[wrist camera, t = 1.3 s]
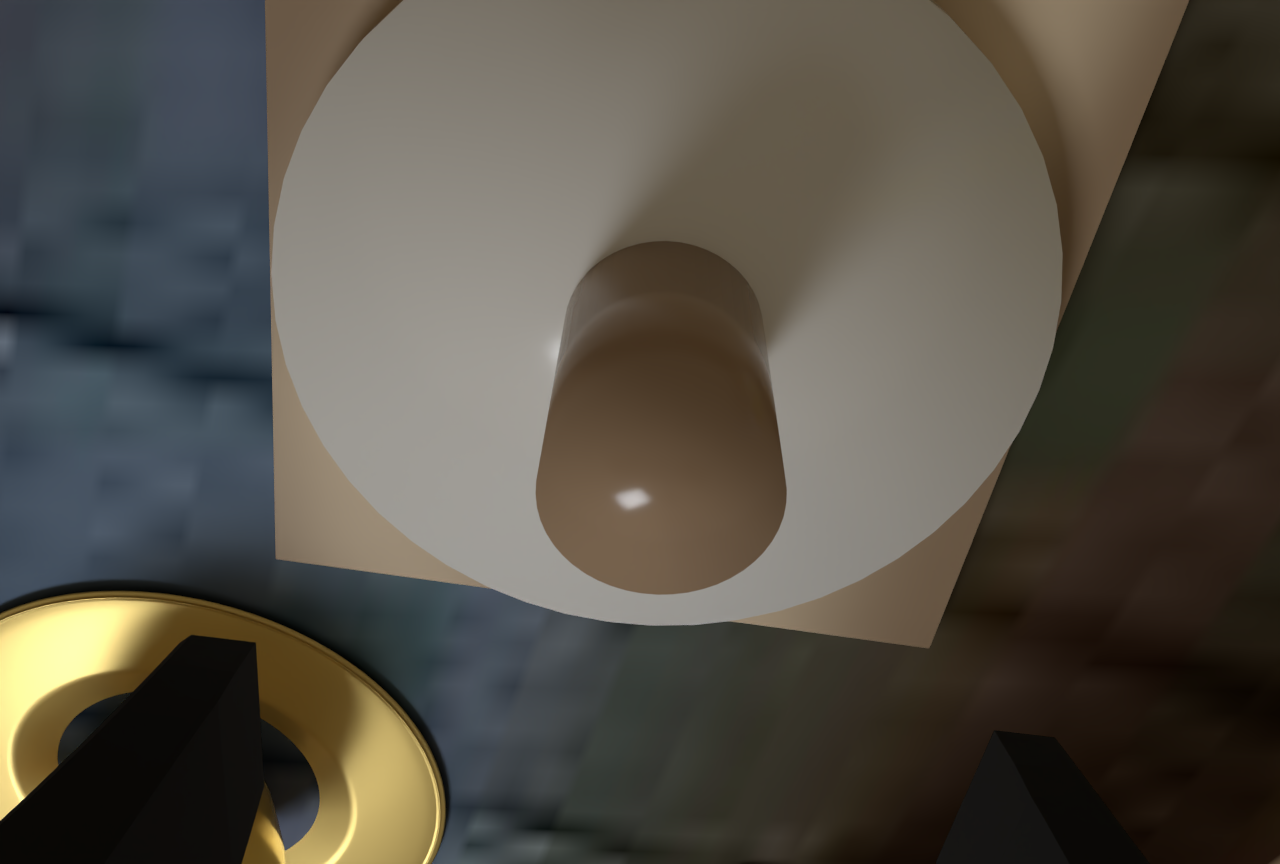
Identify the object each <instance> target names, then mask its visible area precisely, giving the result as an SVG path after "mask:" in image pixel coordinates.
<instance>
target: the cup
mask: <svg viewBox="0 0 1280 864" xmlns="http://www.w3.org/2000/svg"><path fill="white" fill-rule="evenodd" d="M190 635H198V636H206V637H215V638H223V639H231V640H240V641H248V642H256V652H257V669H258V687H259V704H260V718H261V719H263V720H265V721H266V722H268V723H269V724H271V725H272V726H274V727H275V728H276V729H278V730H279V731H280V732H281V733H283V734H284V735H285V736H286V737H287V738H288V739H290V740H291V741H292V742H293V743H294V744H295V746H296V747H297V748H298V749H299V750H300V751H301V752H302V754H303V755H304V756H305V758H306V759H307V761H308V762H309V764H310V766H311V768H312V770H313V772H314V774H315V776H316V779H317V782H318V786H319V793H320V805H319V811H318V814H317V817H316V820H315V822H314V824H313V826H312V827H311V829H310V830H309V832H308V833H307V834H306V835H305V836H304V837H303V838H302V839H301V840H300V841H299V842H298V843H297V844H295V845H294V846H292V847H291V848H289V849H288V850H286V851H285V849H284V844H283V839H282V835H281V831H280V826H279V822H278V818H277V814H276V810H275V806H274V802H273V799H272V795H271V793H270V790H269V788H268V786H267V784H266V782H265V781H264V789H263V792H262V796H261V799H260V803H259V806H258V810H257V813H256V817H255V820H254V824H253V827H252V831H251V834H250V837H249V841H248V844H247V848H246V851H245V854H244V857H243V861H242V864H432V862H433V860H434V858H435V856H436V854H437V852H438V850H439V847H440V844H441V841H442V837H443V833H444V828H445V821H446V799H445V791H444V786H443V782H442V778H441V774H440V771H439V768H438V765H437V763H436V760H435V758H434V756H433V754H432V752H431V750H430V748H429V746H428V744H427V742H426V740H425V739H424V737H423V736H422V734H421V732H420V731H419V729H418V728H417V727H416V725H415V724H414V722H413V721H412V720H411V718H410V717H409V716H408V715H407V713H406V712H405V711H404V710H403V709H402V708H401V706H400V705H399V704H398V703H397V702H396V701H395V700H394V699H393V698H392V697H391V696H390V695H389V694H388V693H387V692H386V691H385V690H384V689H383V688H382V687H381V686H379V685H378V684H377V683H376V682H375V681H374V680H372V679H371V678H370V677H369V676H368V675H366V674H365V673H364V672H363V671H361V670H360V669H359V668H357V667H356V666H354V665H353V664H352V663H350V662H349V661H347V660H346V659H344V658H343V657H341V656H340V655H338V654H337V653H335V652H333V651H332V650H330V649H329V648H327V647H325V646H323V645H322V644H320V643H318V642H316V641H314V640H313V639H311V638H309V637H307V636H305V635H303V634H301V633H299V632H297V631H294V630H292V629H290V628H288V627H286V626H283V625H281V624H279V623H276V622H274V621H271V620H269V619H266V618H263V617H261V616H258V615H255V614H252V613H249V612H246V611H243V610H240V609H237V608H233V607H230V606H226V605H222V604H218V603H214V602H210V601H206V600H201V599H196V598H191V597H185V596H179V595H172V594H165V593H155V592H143V591H93V592H81V593H73V594H66V595H60V596H54V597H49V598H45V599H40V600H37V601H33V602H29V603H26V604H23V605H20V606H17V607H14V608H11V609H9V610H6V611H4V612H2V613H0V820H2V819H3V818H4V817H5V816H6V815H7V814H8V813H9V812H10V811H11V810H12V809H14V808H15V807H16V806H17V805H18V804H19V803H20V802H21V801H22V800H23V799H24V798H25V797H26V796H27V795H28V794H29V793H30V792H32V791H33V790H34V789H35V788H36V787H37V786H38V785H39V784H40V783H41V782H42V781H43V780H44V779H45V778H46V777H47V776H48V775H49V774H50V773H52V772H53V771H54V770H55V769H56V768H57V767H58V760H57V754H58V746H59V742H60V739H61V736H62V734H63V732H64V730H65V729H66V727H67V726H68V724H69V723H70V722H71V721H72V720H73V719H74V718H75V717H76V716H77V715H78V714H79V713H80V712H82V711H83V710H84V709H86V708H87V707H89V706H91V705H93V704H95V703H97V702H99V701H101V700H103V699H106V698H109V697H112V696H116V695H119V694H124V693H129V692H133V691H134V690H135V689H136V688H137V687H138V686H139V685H140V684H141V683H142V682H143V681H144V680H145V679H146V678H147V677H148V676H149V675H150V674H151V673H152V672H153V670H154V669H155V668H156V667H157V666H158V665H159V664H160V663H161V662H162V661H163V660H164V659H165V658H166V657H167V656H168V655H169V654H170V652H171V651H172V650H173V649H174V648H175V647H176V646H177V645H178V644H179V643H180V642H181V641H183V640H184V639H186V638H187V637H189V636H190Z"/></svg>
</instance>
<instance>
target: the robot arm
mask: <svg viewBox="0 0 1280 864" xmlns="http://www.w3.org/2000/svg"><path fill="white" fill-rule="evenodd" d="M263 789H264V774H263V757H262V739H261V722H260V704H259V687H258V669H257V652H256V642H248V641H240V640H231V639H223V638H215V637H206V636H198V635H190V636H189V637H187V638H186V639H184V640H183V641H181V642H180V643H179V644H178V645H177V646H176V647H175V648H174V649H173V650H172V651H171V652H170V654H169V655H168V656H167V657H166V658H165V659H164V660H163V661H162V662H161V663H160V664H159V665H158V666H157V667H156V668H155V669H154V670H153V672H152V673H151V674H150V675H149V676H148V677H147V678H146V679H145V680H144V681H143V682H142V683H141V684H140V685H139V686H138V687H137V688H136V689H135V690H134V691H133V692H132V693H131V694H130V696H129V697H128V698H127V699H126V700H125V701H124V702H123V703H122V704H121V705H120V706H119V707H118V708H117V709H116V710H115V711H114V712H113V713H112V714H111V715H110V716H109V717H108V718H107V719H106V720H105V721H104V722H103V723H102V724H101V725H100V726H99V727H98V728H97V729H96V730H95V731H94V732H93V733H92V734H91V735H90V736H89V737H88V738H87V739H86V740H85V741H84V742H83V743H82V744H81V745H80V746H79V747H78V748H77V749H76V750H75V751H74V752H73V753H72V754H70V755H69V756H68V757H67V758H66V759H65V760H64V761H63V762H62V763H61V764H60V765H59V766H58V767H57V768H56V769H55V770H54V771H53V772H52V773H50V774H49V775H48V776H47V777H46V778H45V779H44V780H43V781H42V782H41V783H40V784H39V785H38V786H37V787H36V788H35V789H34V790H33V791H32V792H30V793H29V794H28V795H27V796H26V797H25V798H24V799H23V800H22V801H21V802H20V803H19V804H18V805H17V806H16V807H15V808H14V809H12V810H11V811H10V812H9V813H8V814H7V815H6V816H5V817H4V818H3V819H2V820H0V864H242V861H243V857H244V854H245V851H246V848H247V844H248V841H249V837H250V834H251V831H252V827H253V824H254V820H255V817H256V813H257V810H258V806H259V803H260V799H261V796H262V792H263ZM936 864H1150V863H1149V862H1148V861H1147V859H1146V858H1145V857H1144V855H1143V854H1142V853H1141V851H1140V850H1139V849H1138V847H1137V846H1136V845H1135V844H1134V842H1133V841H1132V840H1131V838H1130V837H1129V836H1128V834H1127V833H1126V832H1125V830H1124V829H1123V828H1122V826H1121V825H1120V824H1119V822H1118V821H1117V820H1116V818H1115V817H1114V816H1113V814H1112V813H1111V812H1110V810H1109V809H1108V808H1107V806H1106V805H1105V804H1104V802H1103V801H1102V800H1101V798H1100V797H1099V796H1098V794H1097V793H1096V792H1095V790H1094V789H1093V788H1092V786H1091V785H1090V783H1089V782H1088V781H1087V779H1086V778H1085V777H1084V775H1083V774H1082V773H1081V771H1080V770H1079V769H1078V767H1077V766H1076V765H1075V763H1074V762H1073V761H1072V760H1071V758H1070V757H1069V756H1068V754H1067V753H1066V752H1065V750H1064V749H1063V748H1062V746H1061V745H1060V744H1059V743H1058V741H1057V740H1056V739H1055V738H1054V737H1046V736H1037V735H1029V734H1020V733H1012V732H1004V731H995V730H994V732H993V734H992V737H991V739H990V741H989V743H988V746H987V748H986V750H985V752H984V755H983V757H982V759H981V762H980V764H979V766H978V768H977V771H976V773H975V775H974V777H973V780H972V782H971V784H970V786H969V789H968V791H967V793H966V795H965V798H964V800H963V802H962V804H961V807H960V809H959V811H958V813H957V816H956V818H955V820H954V822H953V825H952V827H951V829H950V832H949V834H948V836H947V838H946V841H945V843H944V845H943V847H942V850H941V852H940V854H939V856H938V859H937V861H936Z"/></svg>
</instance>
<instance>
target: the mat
mask: <svg viewBox="0 0 1280 864" xmlns="http://www.w3.org/2000/svg"><path fill="white" fill-rule="evenodd" d="M401 1H402V0H265V23H266V76H267V128H268V180H269V232H270V285H271V337H272V390H273V442H274V494H275V547H276V559H279V560H286V561H294V562H301V563H308V564H316V565H323V566H330V567H338V568H345V569H352V570H360V571H367V572H374V573H382V574H389V575H396V576H403V577H411V578H418V579H425V580H433V581H440V582H447V583H455V584H462V585H469V586H477V587H484V588H490V587H487V586H485V585H483V584H481V583H479V582H477V581H475V580H474V579H472V578H470V577H468V576H466V575H464V574H462V573H460V572H459V571H457V570H455V569H453V568H451V567H449V566H447V565H446V564H444V563H443V562H441V561H440V560H438V559H437V558H436V557H434V556H433V555H431V554H430V553H428V552H427V551H425V550H424V549H422V548H421V547H419V546H418V545H416V544H415V543H413V542H412V541H411V540H410V539H408V538H407V537H406V536H405V535H404V534H403V533H401V532H400V531H399V530H398V529H397V528H396V527H394V526H393V525H392V524H391V523H390V522H389V521H387V520H386V519H385V518H384V517H383V516H382V515H380V514H379V513H378V512H377V511H376V510H375V509H374V507H373V506H372V505H371V504H370V503H369V502H368V501H367V500H366V499H365V498H364V497H363V496H362V494H361V493H360V492H359V491H358V490H357V489H356V488H355V487H354V486H353V485H352V484H351V483H350V481H349V480H348V479H347V478H346V476H345V475H344V473H343V472H342V471H341V469H340V468H339V466H338V465H337V464H336V462H335V461H334V460H333V458H332V457H331V455H330V454H329V453H328V451H327V450H326V448H325V447H324V446H323V444H322V442H321V440H320V438H319V437H318V435H317V433H316V431H315V429H314V427H313V426H312V424H311V422H310V420H309V418H308V416H307V415H306V413H305V411H304V409H303V407H302V405H301V402H300V400H299V397H298V395H297V392H296V390H295V387H294V384H293V382H292V379H291V377H290V374H289V371H288V369H287V366H286V363H285V359H284V354H283V350H282V346H281V342H280V338H279V333H278V329H277V325H276V321H275V310H274V299H273V288H272V277H271V269H272V251H273V233H274V223H275V218H276V214H277V209H278V204H279V199H280V194H281V189H282V185H283V180H284V177H285V174H286V171H287V168H288V166H289V163H290V160H291V158H292V155H293V152H294V150H295V147H296V144H297V141H298V139H299V136H300V133H301V131H302V129H303V127H304V125H305V124H306V122H307V120H308V118H309V116H310V115H311V113H312V111H313V109H314V107H315V106H316V104H317V102H318V100H319V98H320V97H321V95H322V93H323V91H324V89H325V87H326V86H327V84H328V83H329V82H330V80H331V79H332V78H333V77H334V75H335V74H336V73H337V71H338V70H339V69H340V67H341V66H342V65H343V64H344V62H345V61H346V60H347V58H348V57H349V56H350V55H351V53H352V52H353V51H354V49H355V48H356V47H357V45H358V44H359V43H360V42H361V41H362V40H363V38H364V37H365V36H366V35H367V34H368V33H369V32H370V31H371V30H372V29H373V28H374V27H375V26H376V25H377V24H378V23H379V22H380V21H381V20H382V19H383V18H384V17H385V16H386V15H387V14H388V13H389V12H390V11H391V10H392V9H394V8H395V7H396V6H397V5H398V4H399V3H400V2H401ZM933 1H934V2H935V3H936V4H938V5H939V6H940V7H941V8H942V9H944V11H945V12H946V13H947V14H948V15H949V16H950V17H951V18H952V19H953V21H954V22H955V23H956V24H957V25H958V26H959V27H960V28H961V29H962V31H963V32H964V33H965V34H966V35H967V36H968V37H969V38H970V39H971V41H972V42H973V43H974V44H975V45H976V46H977V47H978V48H979V49H980V51H981V52H982V53H983V54H984V55H985V56H986V57H987V59H988V60H989V61H990V62H991V63H992V65H993V66H994V68H995V69H996V71H997V72H998V74H999V75H1000V77H1001V78H1002V80H1003V81H1004V83H1005V84H1006V86H1007V87H1008V89H1009V90H1010V92H1011V93H1012V95H1013V97H1014V98H1015V100H1016V101H1017V103H1018V104H1019V106H1020V107H1021V109H1022V111H1023V113H1024V115H1025V118H1026V120H1027V122H1028V124H1029V126H1030V128H1031V131H1032V133H1033V135H1034V137H1035V139H1036V142H1037V144H1038V146H1039V148H1040V150H1041V153H1042V155H1043V158H1044V161H1045V165H1046V168H1047V172H1048V175H1049V179H1050V183H1051V186H1052V190H1053V193H1054V197H1055V200H1056V204H1057V211H1058V219H1059V227H1060V236H1061V244H1062V252H1063V259H1062V294H1061V306H1060V311H1059V317H1058V323H1057V328H1056V331H1057V329H1058V326H1059V324H1060V321H1061V319H1062V316H1063V314H1064V311H1065V309H1066V306H1067V304H1068V301H1069V299H1070V296H1071V294H1072V291H1073V289H1074V286H1075V284H1076V281H1077V279H1078V276H1079V274H1080V271H1081V269H1082V266H1083V264H1084V261H1085V259H1086V256H1087V254H1088V251H1089V249H1090V246H1091V244H1092V241H1093V239H1094V236H1095V234H1096V231H1097V229H1098V226H1099V224H1100V221H1101V219H1102V216H1103V214H1104V211H1105V209H1106V206H1107V204H1108V201H1109V199H1110V196H1111V194H1112V191H1113V189H1114V186H1115V184H1116V181H1117V179H1118V177H1119V174H1120V172H1121V169H1122V167H1123V164H1124V162H1125V159H1126V157H1127V154H1128V152H1129V149H1130V147H1131V144H1132V142H1133V139H1134V137H1135V134H1136V132H1137V129H1138V127H1139V124H1140V122H1141V119H1142V117H1143V114H1144V112H1145V109H1146V107H1147V104H1148V102H1149V99H1150V97H1151V94H1152V92H1153V89H1154V87H1155V84H1156V82H1157V79H1158V77H1159V74H1160V72H1161V69H1162V67H1163V64H1164V62H1165V59H1166V57H1167V54H1168V52H1169V49H1170V47H1171V44H1172V42H1173V39H1174V37H1175V34H1176V32H1177V29H1178V27H1179V24H1180V22H1181V19H1182V17H1183V14H1184V12H1185V9H1186V7H1187V4H1188V2H1189V0H933ZM1010 446H1011V445H1010ZM1010 446H1009V448H1010ZM1009 448H1008V449H1007V451H1006V452H1005V454H1004V456H1003V457H1002V459H1001V460H1000V462H999V463H998V465H997V466H996V468H995V469H994V470H993V472H992V473H991V474H990V475H989V476H988V477H987V479H986V480H985V481H984V482H983V483H982V484H981V486H980V487H979V488H978V489H977V490H976V491H975V493H974V494H973V495H972V496H971V497H970V498H969V500H968V501H967V502H966V503H965V504H964V505H963V506H962V507H961V508H960V509H959V510H958V511H956V512H955V513H954V514H953V515H952V516H951V517H950V518H949V519H948V520H947V521H946V522H945V523H943V524H942V525H941V526H940V527H939V528H938V529H937V530H936V531H935V532H934V533H932V534H931V535H930V536H928V537H927V538H926V539H924V540H923V541H921V542H920V543H919V544H917V545H916V546H915V547H913V548H912V549H910V550H909V551H908V552H906V553H905V554H904V555H902V556H901V557H900V558H898V559H896V560H895V561H893V562H891V563H890V564H888V565H886V566H884V567H883V568H881V569H879V570H877V571H876V572H874V573H872V574H870V575H869V576H867V577H865V578H863V579H862V580H860V581H858V582H855V583H853V584H851V585H848V586H846V587H844V588H842V589H839V590H837V591H835V592H833V593H830V594H828V595H826V596H823V597H821V598H818V599H815V600H812V601H809V602H806V603H803V604H800V605H797V606H793V607H790V608H787V609H784V610H781V611H777V612H773V613H768V614H763V615H759V616H754V617H749V618H745V619H740V620H734V621H733V622H740V623H747V624H754V625H762V626H769V627H776V628H784V629H791V630H798V631H806V632H813V633H820V634H828V635H835V636H842V637H850V638H857V639H864V640H872V641H879V642H886V643H893V644H901V645H908V646H915V647H923V648H930V645H931V643H932V640H933V638H934V635H935V633H936V630H937V628H938V625H939V623H940V620H941V618H942V615H943V613H944V610H945V608H946V605H947V603H948V600H949V598H950V595H951V593H952V590H953V588H954V585H955V583H956V580H957V578H958V575H959V573H960V570H961V568H962V565H963V563H964V560H965V558H966V556H967V553H968V551H969V548H970V546H971V543H972V541H973V538H974V536H975V533H976V531H977V528H978V526H979V523H980V521H981V518H982V516H983V513H984V511H985V508H986V506H987V503H988V501H989V498H990V496H991V493H992V491H993V488H994V486H995V483H996V481H997V478H998V476H999V473H1000V471H1001V468H1002V466H1003V463H1004V461H1005V458H1006V456H1007V453H1008V451H1009ZM491 589H492V588H491Z"/></svg>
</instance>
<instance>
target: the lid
mask: <svg viewBox="0 0 1280 864" xmlns="http://www.w3.org/2000/svg"><path fill="white" fill-rule="evenodd" d="M1062 259H1063V252H1062V244H1061V236H1060V227H1059V219H1058V211H1057V204H1056V200H1055V197H1054V193H1053V190H1052V186H1051V183H1050V179H1049V175H1048V172H1047V168H1046V165H1045V161H1044V158H1043V155H1042V153H1041V150H1040V148H1039V146H1038V144H1037V142H1036V139H1035V137H1034V135H1033V133H1032V131H1031V128H1030V126H1029V124H1028V122H1027V120H1026V118H1025V115H1024V113H1023V111H1022V109H1021V107H1020V106H1019V104H1018V103H1017V101H1016V100H1015V98H1014V97H1013V95H1012V93H1011V92H1010V90H1009V89H1008V87H1007V86H1006V84H1005V83H1004V81H1003V80H1002V78H1001V77H1000V75H999V74H998V72H997V71H996V69H995V68H994V66H993V65H992V63H991V62H990V61H989V60H988V59H987V57H986V56H985V55H984V54H983V53H982V52H981V51H980V49H979V48H978V47H977V46H976V45H975V44H974V43H973V42H972V41H971V39H970V38H969V37H968V36H967V35H966V34H965V33H964V32H963V31H962V29H961V28H960V27H959V26H958V25H957V24H956V23H955V22H954V21H953V19H952V18H951V17H950V16H949V15H948V14H947V13H946V12H945V11H944V9H942V8H941V7H940V6H939V5H938V4H936V3H935V2H934V1H933V0H402V1H401V2H400V3H399V4H398V5H397V6H396V7H395V8H394V9H392V10H391V11H390V12H389V13H388V14H387V15H386V16H385V17H384V18H383V19H382V20H381V21H380V22H379V23H378V24H377V25H376V26H375V27H374V28H373V29H372V30H371V31H370V32H369V33H368V34H367V35H366V36H365V37H364V38H363V40H362V41H361V42H360V43H359V44H358V45H357V47H356V48H355V49H354V51H353V52H352V53H351V55H350V56H349V57H348V58H347V60H346V61H345V62H344V64H343V65H342V66H341V67H340V69H339V70H338V71H337V73H336V74H335V75H334V77H333V78H332V79H331V80H330V82H329V83H328V84H327V86H326V87H325V89H324V91H323V93H322V95H321V97H320V98H319V100H318V102H317V104H316V106H315V107H314V109H313V111H312V113H311V115H310V116H309V118H308V120H307V122H306V124H305V125H304V127H303V129H302V131H301V133H300V136H299V139H298V141H297V144H296V147H295V150H294V152H293V155H292V158H291V160H290V163H289V166H288V168H287V171H286V174H285V177H284V180H283V185H282V189H281V194H280V199H279V204H278V209H277V214H276V218H275V223H274V233H273V251H272V269H271V277H272V288H273V299H274V310H275V321H276V325H277V329H278V333H279V338H280V342H281V346H282V350H283V354H284V359H285V363H286V366H287V369H288V371H289V374H290V377H291V379H292V382H293V384H294V387H295V390H296V392H297V395H298V397H299V400H300V402H301V405H302V407H303V409H304V411H305V413H306V415H307V416H308V418H309V420H310V422H311V424H312V426H313V427H314V429H315V431H316V433H317V435H318V437H319V438H320V440H321V442H322V444H323V446H324V447H325V448H326V450H327V451H328V453H329V454H330V455H331V457H332V458H333V460H334V461H335V462H336V464H337V465H338V466H339V468H340V469H341V471H342V472H343V473H344V475H345V476H346V478H347V479H348V480H349V481H350V483H351V484H352V485H353V486H354V487H355V488H356V489H357V490H358V491H359V492H360V493H361V494H362V496H363V497H364V498H365V499H366V500H367V501H368V502H369V503H370V504H371V505H372V506H373V507H374V509H375V510H376V511H377V512H378V513H379V514H380V515H382V516H383V517H384V518H385V519H386V520H387V521H389V522H390V523H391V524H392V525H393V526H394V527H396V528H397V529H398V530H399V531H400V532H401V533H403V534H404V535H405V536H406V537H407V538H408V539H410V540H411V541H412V542H413V543H415V544H416V545H418V546H419V547H421V548H422V549H424V550H425V551H427V552H428V553H430V554H431V555H433V556H434V557H436V558H437V559H438V560H440V561H441V562H443V563H444V564H446V565H447V566H449V567H451V568H453V569H455V570H457V571H459V572H460V573H462V574H464V575H466V576H468V577H470V578H472V579H474V580H475V581H477V582H479V583H481V584H483V585H485V586H487V587H490V588H492V589H495V590H497V591H499V592H502V593H504V594H507V595H509V596H512V597H514V598H517V599H519V600H522V601H524V602H527V603H531V604H534V605H537V606H541V607H544V608H548V609H551V610H555V611H558V612H561V613H565V614H569V615H575V616H580V617H586V618H591V619H596V620H602V621H607V622H617V623H629V624H640V625H698V624H707V623H716V622H725V621H734V620H740V619H745V618H749V617H754V616H759V615H763V614H768V613H773V612H777V611H781V610H784V609H787V608H790V607H793V606H797V605H800V604H803V603H806V602H809V601H812V600H815V599H818V598H821V597H823V596H826V595H828V594H830V593H833V592H835V591H837V590H839V589H842V588H844V587H846V586H848V585H851V584H853V583H855V582H858V581H860V580H862V579H863V578H865V577H867V576H869V575H870V574H872V573H874V572H876V571H877V570H879V569H881V568H883V567H884V566H886V565H888V564H890V563H891V562H893V561H895V560H896V559H898V558H900V557H901V556H902V555H904V554H905V553H906V552H908V551H909V550H910V549H912V548H913V547H915V546H916V545H917V544H919V543H920V542H921V541H923V540H924V539H926V538H927V537H928V536H930V535H931V534H932V533H934V532H935V531H936V530H937V529H938V528H939V527H940V526H941V525H942V524H943V523H945V522H946V521H947V520H948V519H949V518H950V517H951V516H952V515H953V514H954V513H955V512H956V511H958V510H959V509H960V508H961V507H962V506H963V505H964V504H965V503H966V502H967V501H968V500H969V498H970V497H971V496H972V495H973V494H974V493H975V491H976V490H977V489H978V488H979V487H980V486H981V484H982V483H983V482H984V481H985V480H986V479H987V477H988V476H989V475H990V474H991V473H992V472H993V470H994V469H995V468H996V466H997V465H998V463H999V462H1000V460H1001V459H1002V457H1003V456H1004V454H1005V452H1006V451H1007V449H1008V448H1009V446H1010V445H1011V443H1012V442H1013V440H1014V439H1015V437H1016V436H1017V434H1018V433H1019V431H1020V429H1021V427H1022V425H1023V423H1024V421H1025V419H1026V417H1027V415H1028V412H1029V410H1030V408H1031V406H1032V404H1033V402H1034V400H1035V398H1036V396H1037V394H1038V392H1039V389H1040V386H1041V383H1042V380H1043V377H1044V374H1045V371H1046V368H1047V365H1048V362H1049V359H1050V356H1051V352H1052V349H1053V345H1054V340H1055V334H1056V328H1057V323H1058V317H1059V311H1060V306H1061V294H1062Z"/></svg>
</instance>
